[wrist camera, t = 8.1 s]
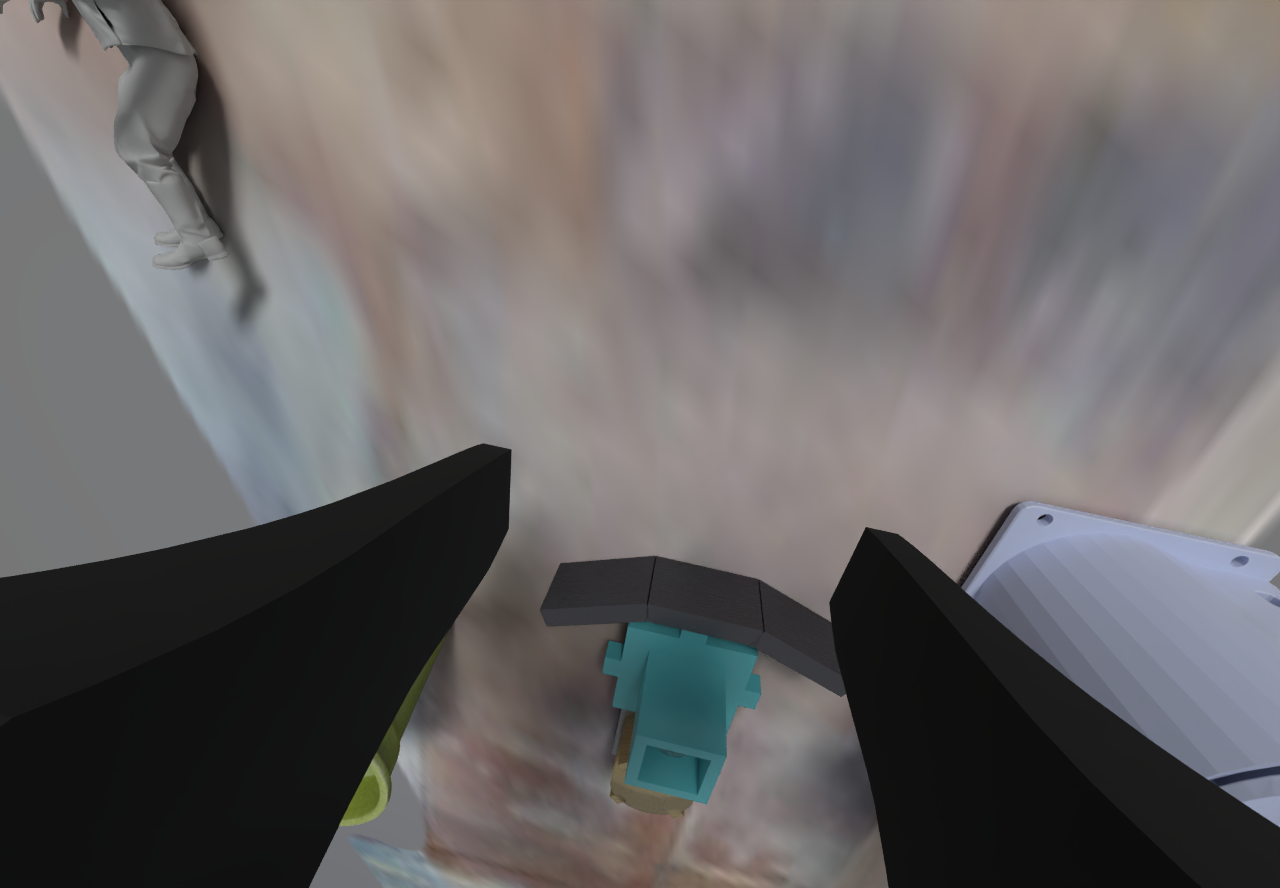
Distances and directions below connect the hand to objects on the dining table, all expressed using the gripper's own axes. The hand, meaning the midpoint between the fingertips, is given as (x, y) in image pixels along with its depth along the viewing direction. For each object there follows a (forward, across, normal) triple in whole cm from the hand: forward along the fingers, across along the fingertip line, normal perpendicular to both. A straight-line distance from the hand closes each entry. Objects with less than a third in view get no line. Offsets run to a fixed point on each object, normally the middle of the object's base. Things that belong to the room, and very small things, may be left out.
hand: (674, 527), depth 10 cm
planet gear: (+8, -2, +15) cm, 17 cm away
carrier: (+9, -2, +16) cm, 19 cm away
